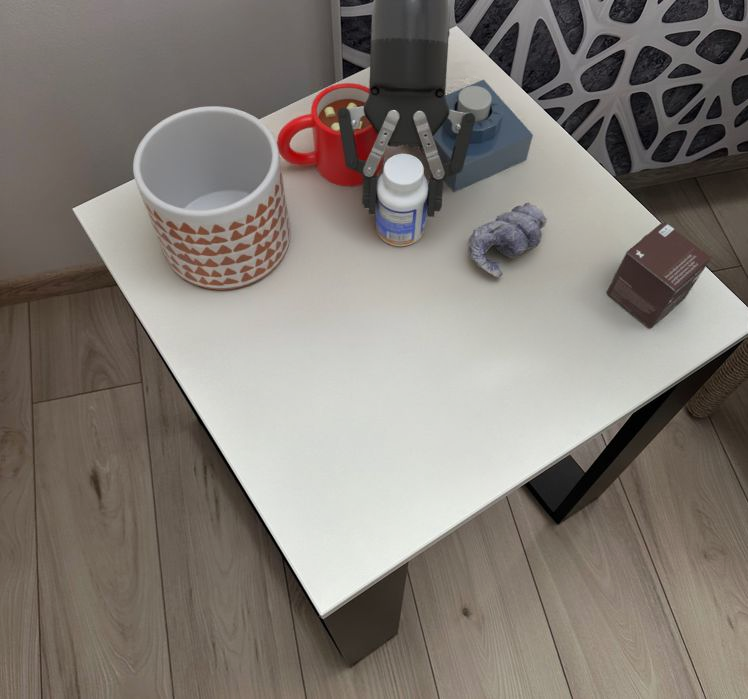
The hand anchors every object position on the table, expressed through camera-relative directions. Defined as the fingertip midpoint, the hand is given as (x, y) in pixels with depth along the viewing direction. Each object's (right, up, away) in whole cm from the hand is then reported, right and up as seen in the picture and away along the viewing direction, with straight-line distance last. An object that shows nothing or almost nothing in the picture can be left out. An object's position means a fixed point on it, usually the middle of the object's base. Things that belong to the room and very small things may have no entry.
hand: (401, 214), depth 79 cm
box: (+25, -8, +1) cm, 27 cm away
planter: (-19, -2, +4) cm, 19 cm away
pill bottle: (0, -1, +5) cm, 5 cm away
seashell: (+11, -3, +4) cm, 13 cm away
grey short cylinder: (+8, +12, +6) cm, 16 cm away
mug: (-8, +7, +10) cm, 14 cm away
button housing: (+8, +10, +11) cm, 17 cm away
